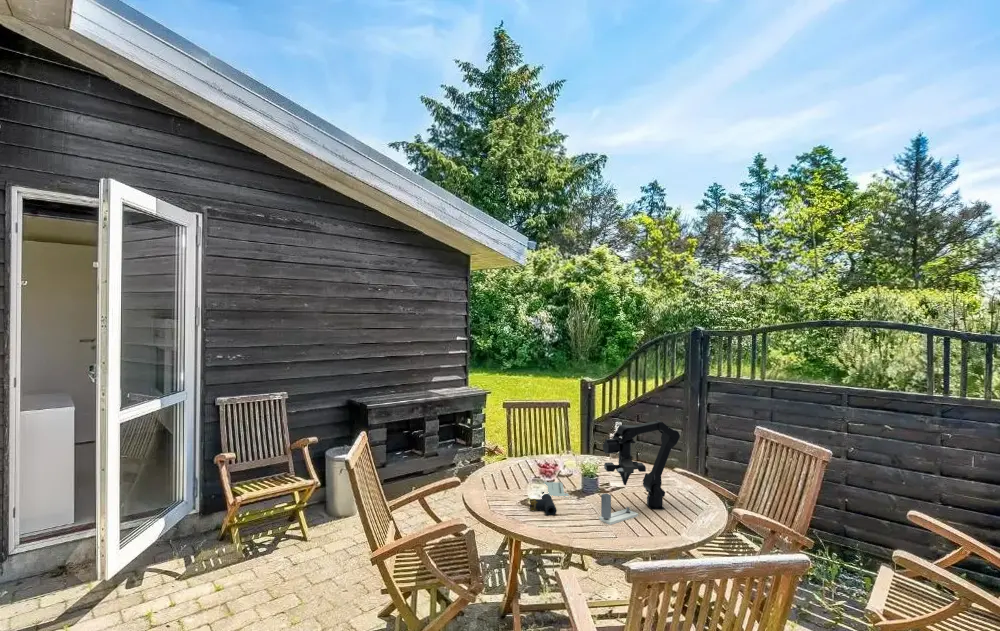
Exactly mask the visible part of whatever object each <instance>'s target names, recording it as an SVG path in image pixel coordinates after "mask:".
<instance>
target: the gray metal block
mask: <svg viewBox="0 0 1000 631" xmlns="http://www.w3.org/2000/svg"><path fill="white" fill-rule="evenodd" d="M600 500H601V502H600V503H601V504H600V505H601V507H600V508H601V513H600V514H601V515H600V516H601V517H603V518H605V519H607V518H611V513H612V495H611V494H610V493H607V492H606V493H605V492H604V493H602V494H601V498H600Z"/></svg>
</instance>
